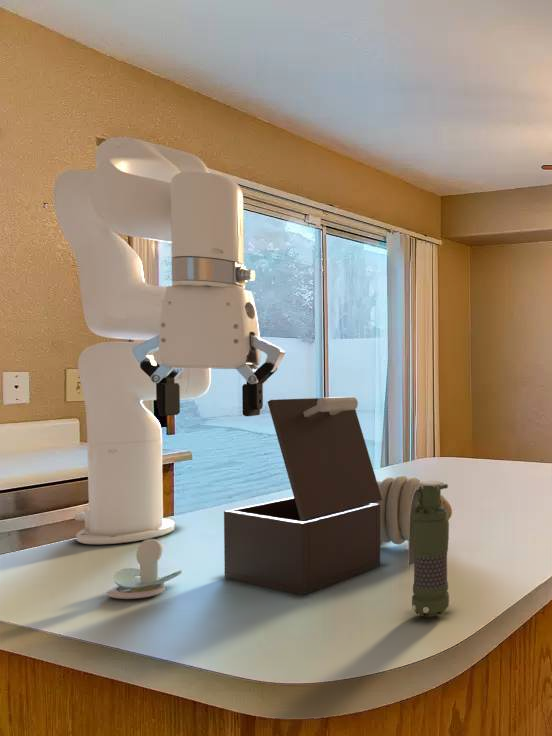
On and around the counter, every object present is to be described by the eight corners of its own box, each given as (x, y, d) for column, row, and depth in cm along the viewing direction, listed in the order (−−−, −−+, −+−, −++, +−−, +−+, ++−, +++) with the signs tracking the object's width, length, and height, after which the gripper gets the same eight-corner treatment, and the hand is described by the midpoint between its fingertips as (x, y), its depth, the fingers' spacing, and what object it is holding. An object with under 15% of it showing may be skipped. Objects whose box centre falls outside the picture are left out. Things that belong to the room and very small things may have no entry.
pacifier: (148, 604, 69) (189, 584, 75) (146, 551, 68) (187, 536, 74) (91, 601, 69) (136, 582, 75) (88, 549, 69) (134, 533, 75)
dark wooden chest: (224, 577, 78) (223, 511, 77) (306, 552, 89) (306, 494, 89) (303, 595, 72) (302, 523, 71) (380, 565, 83) (380, 503, 83)
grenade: (456, 610, 68) (456, 480, 67) (434, 624, 64) (434, 486, 63) (424, 605, 69) (424, 478, 69) (401, 618, 65) (401, 483, 65)
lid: (267, 401, 73) (295, 386, 71) (348, 398, 85) (374, 385, 83) (300, 521, 72) (330, 508, 69) (378, 501, 83) (406, 490, 81)
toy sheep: (447, 554, 89) (448, 481, 88) (329, 557, 86) (329, 482, 86) (455, 536, 99) (455, 470, 99) (350, 538, 97) (350, 471, 97)
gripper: (294, 284, 78) (295, 414, 79) (153, 280, 76) (155, 413, 77) (268, 274, 71) (270, 417, 71) (112, 270, 69) (114, 417, 69)
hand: (210, 415), depth 74 cm, fingers open, 9 cm apart
